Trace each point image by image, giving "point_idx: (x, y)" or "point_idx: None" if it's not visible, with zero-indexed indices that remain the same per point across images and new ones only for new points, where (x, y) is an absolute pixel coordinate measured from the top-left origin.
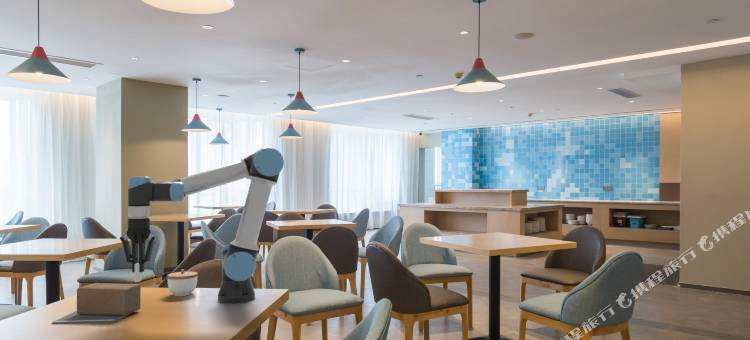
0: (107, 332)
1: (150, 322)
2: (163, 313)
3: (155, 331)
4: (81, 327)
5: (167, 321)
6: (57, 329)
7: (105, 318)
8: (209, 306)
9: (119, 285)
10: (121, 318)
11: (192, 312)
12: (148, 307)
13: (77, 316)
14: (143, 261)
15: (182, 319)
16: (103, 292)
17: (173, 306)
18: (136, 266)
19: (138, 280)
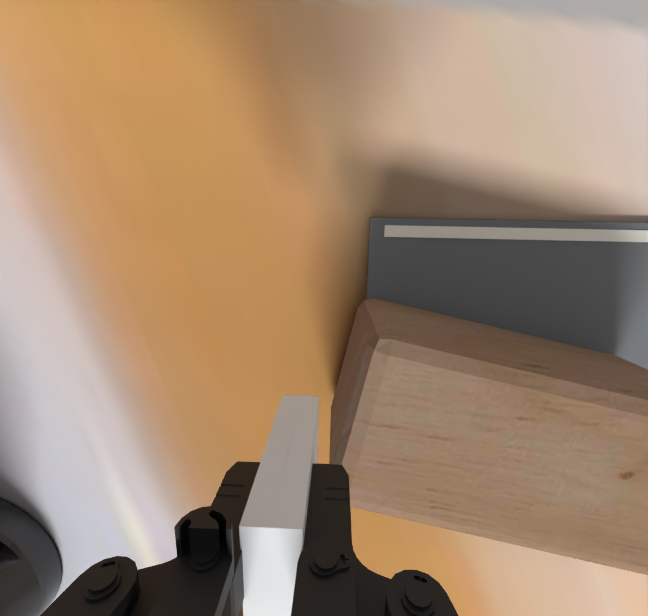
0: (339, 14)
1: (201, 193)
2: (208, 355)
3: (101, 6)
4: (510, 135)
5: (125, 202)
6: (621, 109)
7: (444, 269)
8: (49, 452)
9: (467, 468)
10: (368, 272)
11: (79, 356)
12: None
13: (599, 326)
14: (164, 582)
15: (69, 231)
16: (538, 362)
17: (214, 474)
18: (280, 499)
19: (282, 400)
